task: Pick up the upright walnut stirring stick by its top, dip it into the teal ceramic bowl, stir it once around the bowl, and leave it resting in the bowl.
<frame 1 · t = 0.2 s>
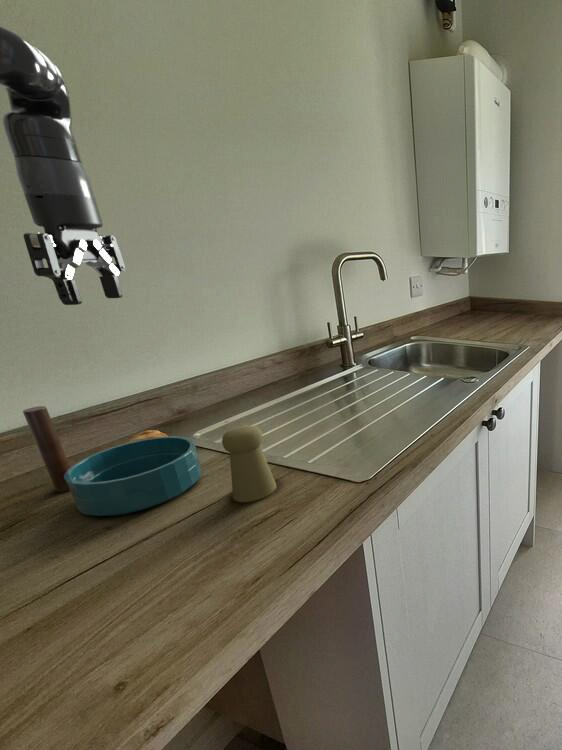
hand: (94, 301, 68), 29 cm above the table, tool pointing down, fingers open, 8 cm apart
cork: (255, 492, 66), on the table
bowl: (145, 490, 66), on the table
pastry: (151, 455, 78), on the table
stirring stick: (66, 488, 67), on the table
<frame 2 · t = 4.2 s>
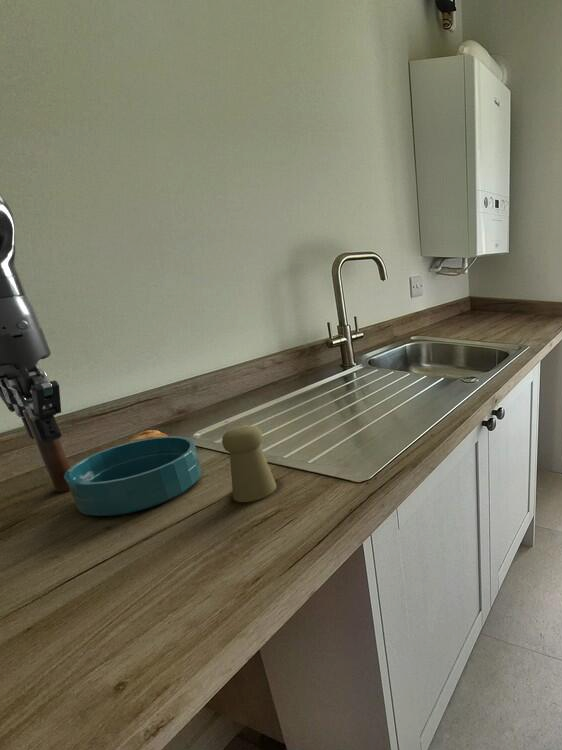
hand: (46, 438, 64), 9 cm above the table, tool pointing down, fingers closed on stirring stick, 2 cm apart
stirring stick: (66, 488, 67), on the table, touching gripper
everything else where it was.
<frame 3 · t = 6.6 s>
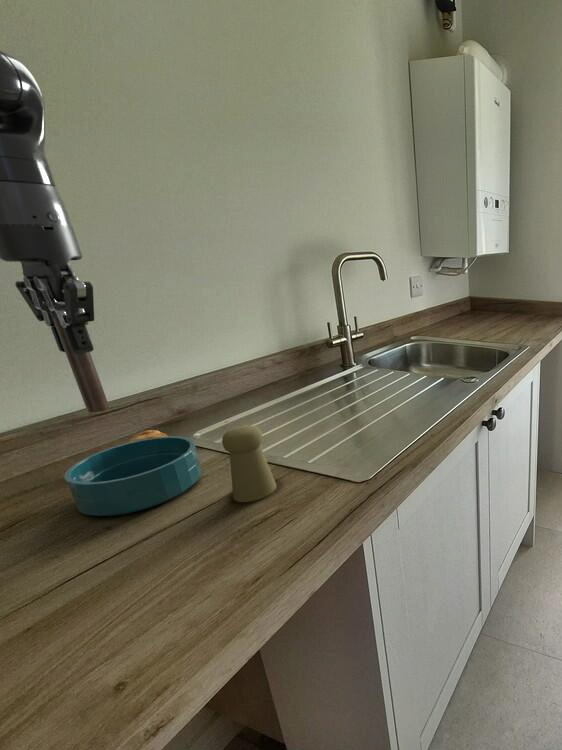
hand: (77, 351, 59), 23 cm above the table, tool pointing down, fingers closed on stirring stick, 2 cm apart
stirring stick: (98, 409, 62), point 14 cm above the table, touching gripper
everything else where it was.
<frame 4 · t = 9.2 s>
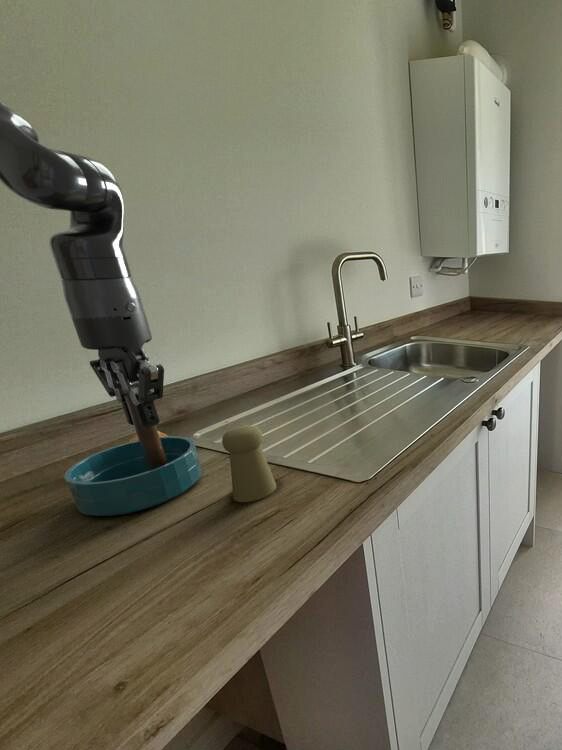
hand: (144, 423, 63), 12 cm above the table, tool pointing down, fingers closed on stirring stick, 2 cm apart
stirring stick: (161, 475, 66), point 2 cm above the table, touching gripper
everything else where it was.
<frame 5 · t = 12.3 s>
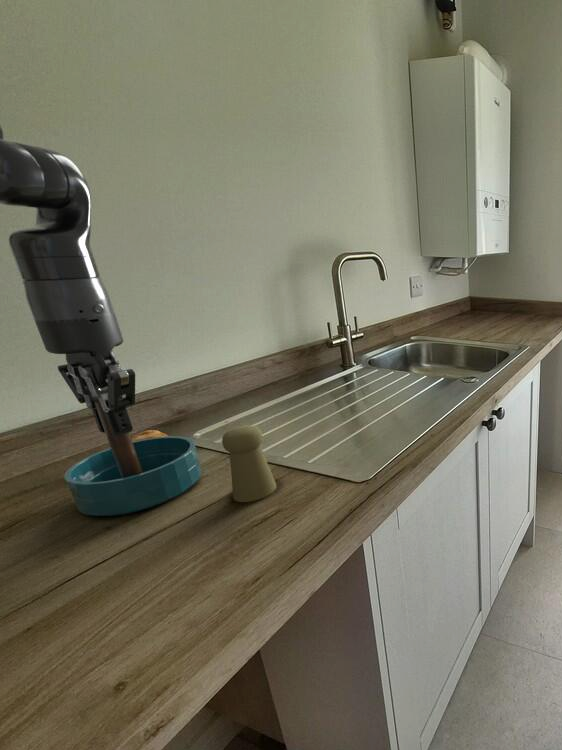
hand: (117, 431, 60), 12 cm above the table, tool pointing down, fingers closed on stirring stick, 2 cm apart
stirring stick: (135, 485, 63), point 3 cm above the table, touching gripper
everything else where it was.
when the fingers open (10 cm above the table, at t = 14.3 s): stirring stick stays where it is, resting on bowl.
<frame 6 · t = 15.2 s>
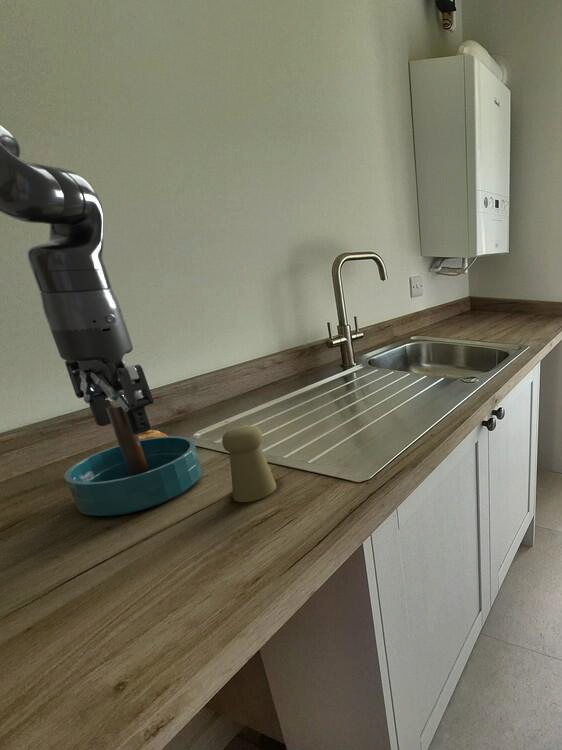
hand: (124, 428, 62), 11 cm above the table, tool pointing down, fingers open, 8 cm apart
stirring stick: (144, 486, 66), point 1 cm above the table, touching bowl
everything else where it was.
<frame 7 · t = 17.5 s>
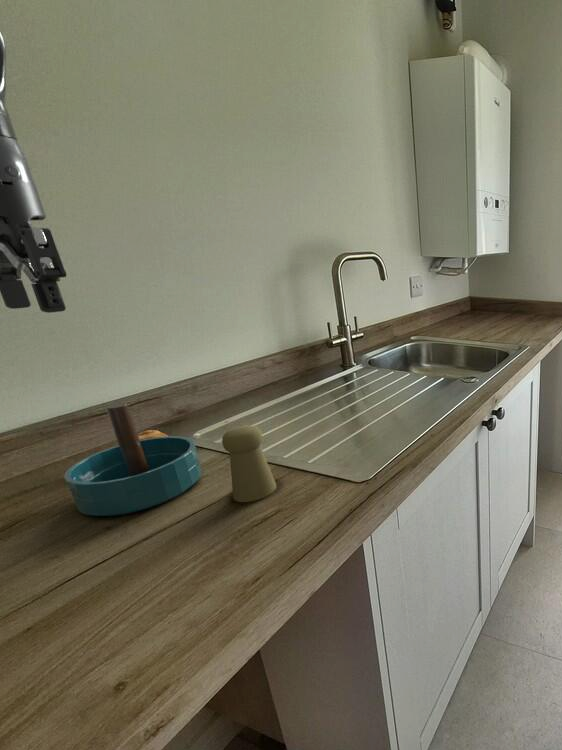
hand: (36, 309, 55), 29 cm above the table, tool pointing down, fingers open, 8 cm apart
nothing on the table moved.
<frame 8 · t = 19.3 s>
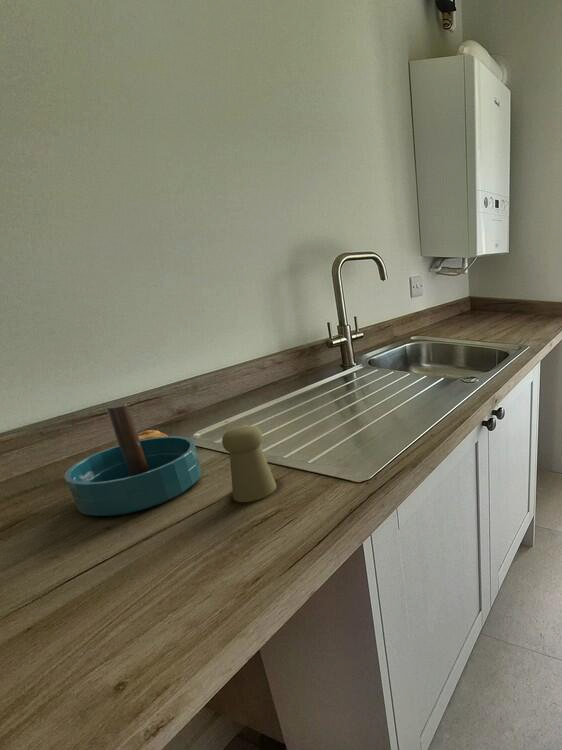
nothing on the table moved.
at the end: stirring stick inside the target area in the bowl (0.0 cm from its centre), point 0.8 cm above the bowl's base; stirring stick moved 13.6 cm from its start; the gripper is holding nothing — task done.
